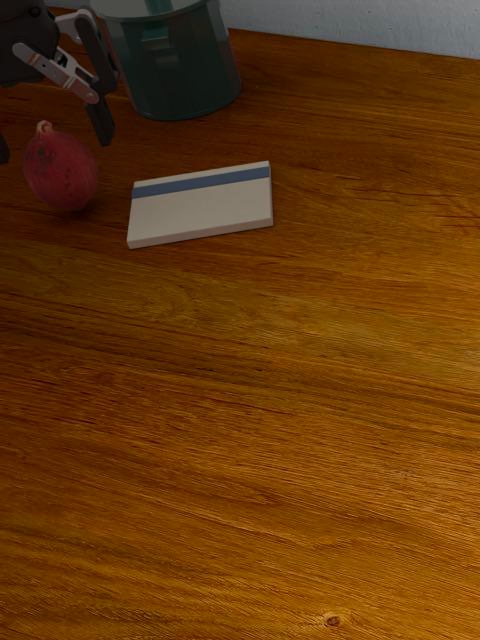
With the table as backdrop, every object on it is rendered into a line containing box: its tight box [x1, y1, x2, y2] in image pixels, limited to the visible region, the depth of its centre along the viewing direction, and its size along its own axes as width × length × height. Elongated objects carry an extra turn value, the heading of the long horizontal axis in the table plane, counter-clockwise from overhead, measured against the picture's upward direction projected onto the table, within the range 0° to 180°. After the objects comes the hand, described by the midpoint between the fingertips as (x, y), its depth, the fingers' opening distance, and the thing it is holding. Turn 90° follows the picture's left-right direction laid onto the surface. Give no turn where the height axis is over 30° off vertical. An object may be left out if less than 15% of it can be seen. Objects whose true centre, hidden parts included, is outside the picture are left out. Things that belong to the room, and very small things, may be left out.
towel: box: [126, 160, 274, 250], centre depth 91 cm, size 12×10×1 cm
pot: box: [99, 0, 243, 122], centre depth 103 cm, size 11×16×10 cm
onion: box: [22, 119, 100, 212], centre depth 90 cm, size 6×6×8 cm
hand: (56, 151), depth 89 cm, fingers open, 8 cm apart
